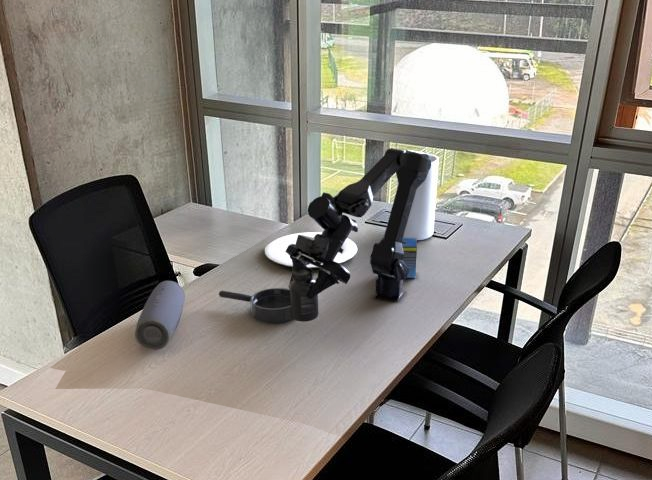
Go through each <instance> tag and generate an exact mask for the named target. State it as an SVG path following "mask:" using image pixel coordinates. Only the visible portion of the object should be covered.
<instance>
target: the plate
mask: <svg viewBox="0 0 652 480" xmlns="http://www.w3.org/2000/svg"><path fill="white" fill-rule="evenodd" d="M322 233H323V232H315V231H314V232H313V231H311V232H309V231H308V232H299V233H292V234H291V233H290V234H287V235H284V236H281V237H280V236H279V237H278V238H275V239H274V240H272V241H271V242H269V243H268V244H267V245H266V246H265V248H264V255H265V256H266V258H267V259H268V260H270V261H272V262H274V263H275V264H278V265H281V266H284V267H290V268H293V263H292V259H290V255H288V254H287V253H286V252H285V251H286V249H287V247H288V246H289V245H290V244H296V240H297V237H298V234H299V235H304V236H308V237H311V238H314V237H315V235H316V234H322ZM341 248H342V249H343V252H342V254H341V253H339V252H338V253H337V255H336V257H335V258H334V260H333V261H334V262H337V263H339V264H343V263H345V262H347V261H350V260H351V259H353V257H354V256H355V255H356V254H357V252H358V247H357V244H356V243H355V242H354V241H353V240H352V239H349V238H347V239H346V240H345V242H344V244H343V245H342V247H341ZM314 262H315V261H314ZM306 266H307V267H308V268H310V269H318V268H319V267H317V266H314V265H312V264H309V265H306ZM319 269H320V268H319Z"/></svg>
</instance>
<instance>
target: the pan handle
mask: <svg viewBox="0 0 652 480" xmlns="http://www.w3.org/2000/svg"><path fill="white" fill-rule="evenodd" d="M253 295H254V294H246V293H239V292H233V291H228V290H227V291H226V290H220V291H219V292H218V296H219V297H220V298H224V299H230V300H235V301H243V302H249V303H251V302H250V300H251V297H252V296H253Z"/></svg>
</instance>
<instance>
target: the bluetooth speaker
mask: <svg viewBox="0 0 652 480" xmlns="http://www.w3.org/2000/svg"><path fill="white" fill-rule="evenodd" d="M185 302H186V293H185V290H184V289H183V287H182V286H181V285H180V284H179V283H178V282H176V281H173V280H163V281H160V282H159V283H158V284H157V285H156V286H155V288H154V289H153V290H152V292H151V293H150V295H149V296H148V298H147V300H146V302H145V303H144V306H143V308H142V310H141V313H140V315H139V318H138V320H137V322H136V326H135V330H134V337H135V339H136V342H137V343H138V344H139V345H140V346H141V347H142V348H144V349H147V350H151V351H157V350H161V349H162V350H163V348H165V347H166V346H167V344H168V343H169V342H170V340H171V339H172V337H173V335H174V333H175V330H176V329H177V327H178V325H179V323H180V320H181V317H182V313H183V310H184V305H185Z"/></svg>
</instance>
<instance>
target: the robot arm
mask: <svg viewBox="0 0 652 480" xmlns="http://www.w3.org/2000/svg"><path fill="white" fill-rule="evenodd" d="M428 154H429V153H425V152H420V151H415V150H410V149H405V150H404V149H399V148H395V147H390V148H387V149H386V150H385V153H384V155H383V156H382V157H381V158H380V159H379V160H378V161H377V162H376V163H375V164H374V165H373V166H372V167H371V169H369V170H368V171H367V172H366V173H365V175H363V176H362V177H361V178H360V180H358V181H356V182H353V183H350V184H348V185H346V186H345V187H343V188H342V189H341V190H340V191H338V193H337V194H336V195H334V196H333V195H332V194H331V193H328V192H322V194H321V195H320V196H318V197H315V198H314V199H313V200H312V201H310V202H309V204H308V205H307V206H308V207H307V214H308V216H309V217H310V218H311V219H312V221H314V222H315V223H316V224H317V225H318V226H319V227H320V228H321V229H323V231H322V232H321V233H322V234H316V235H315V237H314V238H311V237H308V236H304V235H299V234H298V233H297V234H298V237H297V240H296V244H290V245H289V246H288V247H287V249H286V251H285V252H286V253H287V254H288V255H290V259H292V263H293V267H292V270H291V275H290V279H289V284H288V287H289V286H290V283H291V282H292V281H293V271H294V270H295V269H297V268H308V267H307V266H306V265H309V264H312V265H314V266H317V267H319V268H317V277H316V279H315V282H314V284H313V286H312V288H311V290H310V291H309V294H308V296H307V297H308V298H309V299H311V298H313V297H315V296H316V295H318V296H319V294H321V293H323V292H324V291H325V290H327V289H329V288H331V287H332V286H334V285H339V284H340V282H341V283H343V284H345V285H347V284H348V283H349V281H350V280H351V272H350V271H349V270H348V269H347V268H346V267H345V266H344V265H342V263H340V264H339V263H337V262H334V261H333V260H334V258H335V257H336V255H337V253H338V252H339V253H341V254H342V252H343V249H342V248H341V247H342V245H343V244H344V242H345V240H346V239H348V237H349V235H350V234H351V232H354V233H358V231H359V227H358V220H355V219H353V218H350V217H349V216H351V217H355V218H363V216H365V215H366V214H367V212H368V211H369V210H370V209H371V207H372V205H373V199H374V196H375V195H376V194H377V193H378V192H379V190H380V189H381V188H383V186H384V185H385V184H386V183H388V181H389V180H390V179H391V178H392V177H393V176H395V175H396V179H398V188H397V187H396V192H395V195H394V199H393V202H392V206H391V209H390V213H389V216H388V221H387V224H386V227H385V230H384V235H383V237H382V238H381V240H380V241H379V242H374V244H373V245H372V250H371V253H370V256H369V258H370V259H369V265H370V267H371V271H372V274H374V275H377V278H376V279H375V289H374V290H375V291H374V292H375V294H376V295H375V296H374V299H377V300H384V301H391V302H399V300H400V299H401V298H402V296H403V294H404V293H405V291H404V290H403V281H405V280H406V278H405V277H407V276H408V273H409V268H408V267H407V266H406V265H405V264H404V263H403V259H404V251H403V247H402V244H403V241H402V239H403V236H404V232H405V229H406V225H407V222H408V218H409V215H410V211H411V208H412V204H413V201H414V197H415V194H416V190H417V188H418V187H419V186H420V185H421V184H422V183H423V182H424V181H425V180H426V178H427V175H428V173H429V170H430V168H431V160H430V157H429V155H428ZM348 215H349V216H348ZM314 261H315V262H314Z"/></svg>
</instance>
